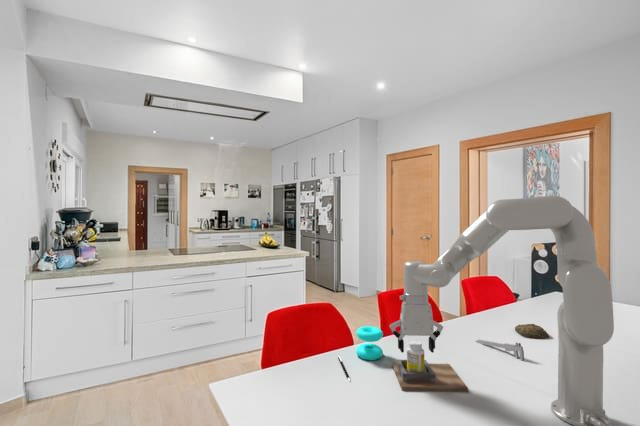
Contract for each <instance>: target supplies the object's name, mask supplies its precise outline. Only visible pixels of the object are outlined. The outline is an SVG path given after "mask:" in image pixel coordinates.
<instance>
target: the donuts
mask: <svg viewBox="0 0 640 426" xmlns="http://www.w3.org/2000/svg"><path fill="white" fill-rule="evenodd" d="M356 336H357V337H358V339H359V340H360V341H364V342H368V343H362V344H360V345H358V346H357V348H356V350H355V352H356V355H357V356H358V357H359V358H360V359H363V360H365V361H366V360H367V361H377V360H379V359H381V358H382V356H383V354H384V352H383V349H382V348H381V346H379V345H377V344H375V343H373V342H378V341H380V340H381V339H382V338H383V337H384V333H383V331H382V330H381V328H379V327H377V326H371V325H366V326H365V325H364V326H360V327H358V328H357V329H356Z"/></svg>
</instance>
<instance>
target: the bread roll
mask: <svg viewBox="0 0 640 426" xmlns="http://www.w3.org/2000/svg"><path fill="white" fill-rule="evenodd" d="M514 331H515V333H517V334H519V335H520V336H521V337H523V338H527V339H535V340H536V339H537V340H538V339H539V340H541V339H546V338H547V339H548V338H550V335H549V333H548V332H547V331H546V330H545V329H544V328H543V327H542V326H540V325H537V324H535V323H527V324H519V323H518V325H516V326H514ZM547 339H546V340H547Z"/></svg>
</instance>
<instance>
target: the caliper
mask: <svg viewBox="0 0 640 426" xmlns="http://www.w3.org/2000/svg"><path fill="white" fill-rule="evenodd" d="M474 342H476V343H478V344H481V345H485V346H489V347H495V348H500V349H504V351H505V352H513V354H514V357H515V359H517V360H520V361H524V360H525V352H524V347H523V346H522V343H521V342H515V343H514V344H513V343H506V342H505V343H500V342H497V341H489V340H485V339H480V338H479V339H477V340H474Z"/></svg>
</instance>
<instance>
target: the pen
mask: <svg viewBox="0 0 640 426" xmlns="http://www.w3.org/2000/svg"><path fill="white" fill-rule="evenodd" d="M337 359H338V361H339V364H340V366H341V368H342V370H343V372H344V375H345V376H346V379H347V380H349V381H348V382H351V377H350V375H349V373H348V371H347V369H346V367H345V365H344V362H343V360H342V358H341V356H340V355H337Z"/></svg>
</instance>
